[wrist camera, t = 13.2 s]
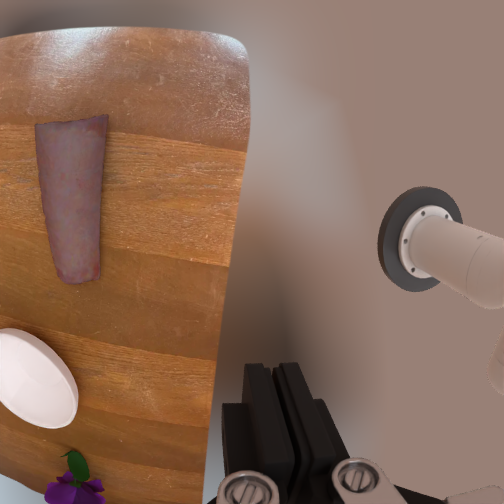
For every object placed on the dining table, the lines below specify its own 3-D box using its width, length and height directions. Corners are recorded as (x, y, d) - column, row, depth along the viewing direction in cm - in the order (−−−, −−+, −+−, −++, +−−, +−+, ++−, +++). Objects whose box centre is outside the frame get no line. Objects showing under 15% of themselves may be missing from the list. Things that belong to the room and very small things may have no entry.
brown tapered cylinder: (55, 125, 35) (22, 119, 26) (116, 115, 36) (93, 104, 27) (67, 273, 41) (40, 298, 32) (126, 271, 42) (108, 298, 33)
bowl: (109, 373, 46) (98, 401, 39) (58, 417, 48) (47, 441, 41) (23, 290, 40) (0, 309, 33) (-14, 349, 42) (-32, 369, 35)
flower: (54, 432, 55) (59, 477, 52) (29, 453, 40) (37, 503, 37) (110, 446, 57) (112, 491, 54) (94, 473, 43) (99, 522, 40)
